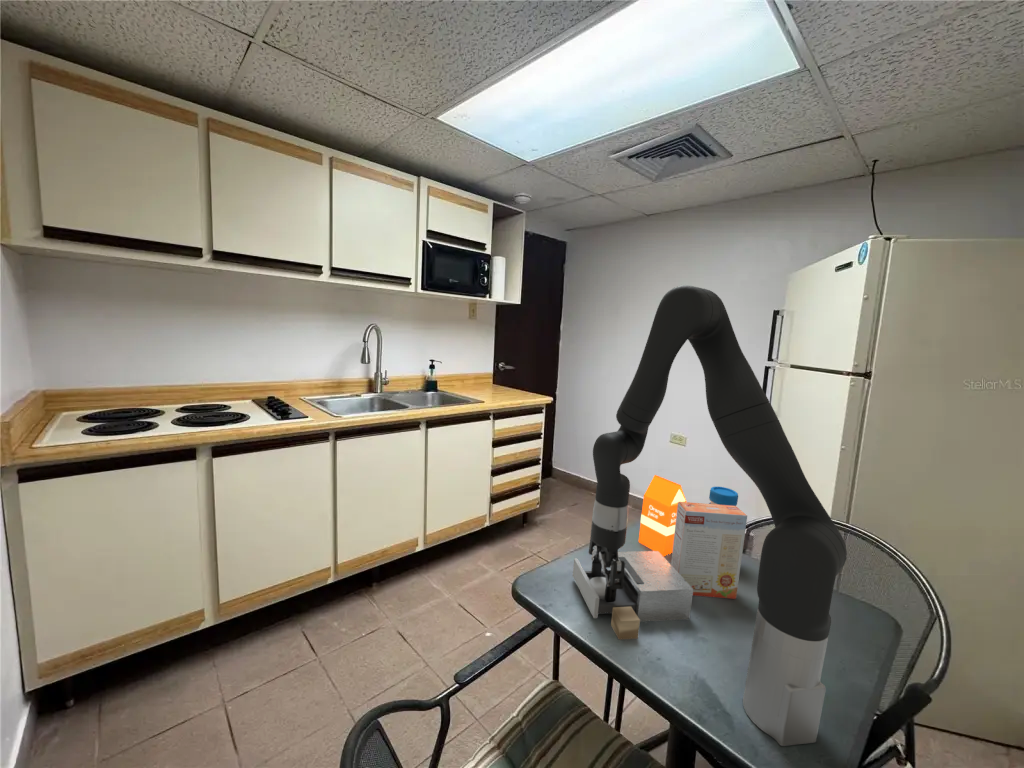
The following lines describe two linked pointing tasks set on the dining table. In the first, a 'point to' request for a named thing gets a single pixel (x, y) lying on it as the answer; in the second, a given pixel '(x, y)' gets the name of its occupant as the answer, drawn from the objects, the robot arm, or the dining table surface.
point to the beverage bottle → (723, 496)
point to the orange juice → (660, 515)
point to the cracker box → (709, 547)
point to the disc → (599, 586)
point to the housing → (657, 586)
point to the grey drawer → (596, 605)
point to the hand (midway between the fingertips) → (602, 588)
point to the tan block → (625, 623)
